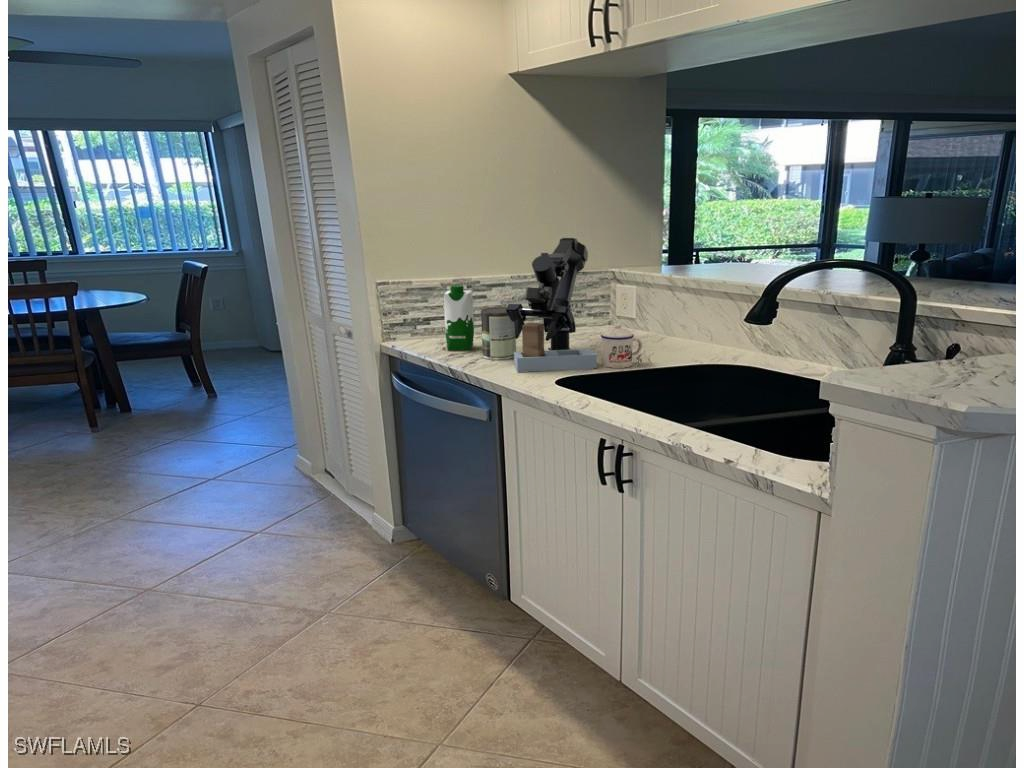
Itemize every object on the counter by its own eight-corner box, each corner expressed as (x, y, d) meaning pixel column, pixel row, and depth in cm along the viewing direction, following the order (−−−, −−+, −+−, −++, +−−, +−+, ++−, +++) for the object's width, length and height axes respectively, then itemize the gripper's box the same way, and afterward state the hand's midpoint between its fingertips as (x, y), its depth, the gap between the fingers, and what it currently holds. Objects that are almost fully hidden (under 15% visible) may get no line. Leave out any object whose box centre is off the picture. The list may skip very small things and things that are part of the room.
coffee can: (475, 358, 228) (473, 311, 225) (494, 351, 237) (492, 306, 233) (504, 361, 223) (503, 313, 220) (522, 354, 232) (521, 308, 228)
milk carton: (444, 351, 239) (441, 287, 234) (449, 345, 247) (446, 283, 242) (472, 351, 238) (469, 287, 233) (476, 345, 246) (474, 283, 241)
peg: (529, 366, 217) (528, 322, 214) (544, 367, 215) (543, 323, 212) (523, 369, 213) (522, 325, 210) (537, 370, 211) (537, 326, 208)
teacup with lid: (607, 370, 210) (608, 328, 207) (595, 362, 219) (596, 322, 216) (648, 366, 213) (649, 325, 210) (634, 359, 222) (635, 319, 219)
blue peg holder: (517, 372, 210) (517, 358, 209) (514, 365, 217) (514, 352, 216) (596, 368, 212) (596, 354, 211) (590, 362, 220) (590, 348, 219)
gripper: (507, 274, 215) (490, 320, 208) (569, 276, 207) (554, 324, 200) (520, 298, 224) (504, 343, 217) (580, 301, 216) (565, 347, 209)
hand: (531, 339), depth 211 cm, fingers open, 9 cm apart
